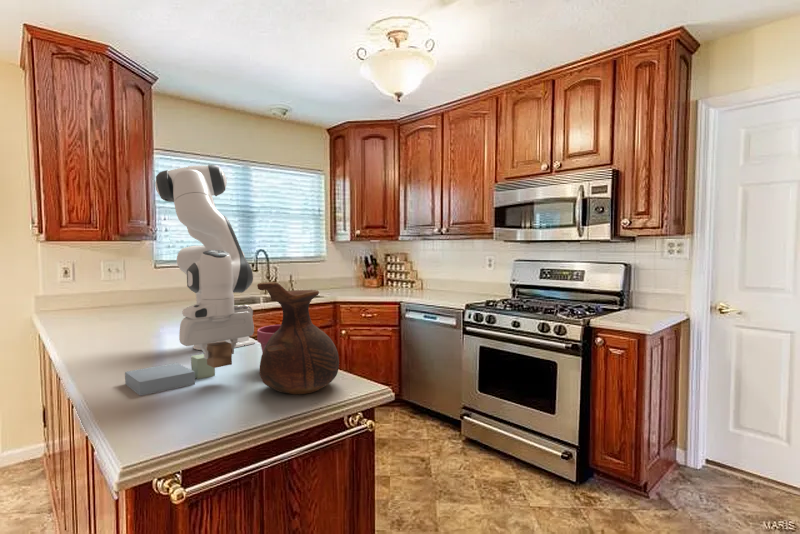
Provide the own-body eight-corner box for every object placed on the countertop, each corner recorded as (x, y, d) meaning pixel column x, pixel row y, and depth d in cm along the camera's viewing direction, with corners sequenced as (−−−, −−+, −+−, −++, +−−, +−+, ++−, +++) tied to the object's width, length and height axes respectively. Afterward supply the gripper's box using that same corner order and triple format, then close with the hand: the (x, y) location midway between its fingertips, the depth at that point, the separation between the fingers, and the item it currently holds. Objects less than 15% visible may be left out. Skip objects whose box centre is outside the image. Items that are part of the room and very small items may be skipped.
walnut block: (224, 361, 134) (223, 340, 133) (231, 364, 130) (231, 343, 130) (207, 364, 130) (206, 343, 130) (214, 367, 127) (213, 346, 126)
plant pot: (287, 376, 137) (287, 333, 136) (248, 371, 142) (247, 330, 141) (312, 364, 151) (311, 325, 150) (275, 360, 155) (274, 323, 154)
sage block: (208, 372, 142) (207, 353, 141) (214, 375, 138) (214, 356, 138) (191, 375, 138) (191, 356, 138) (198, 379, 134) (197, 359, 134)
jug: (255, 381, 132) (253, 277, 130) (329, 373, 139) (328, 275, 138) (260, 406, 111) (258, 283, 110) (347, 395, 119) (346, 280, 118)
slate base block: (177, 375, 140) (177, 362, 139) (195, 385, 130) (194, 371, 129) (125, 385, 130) (125, 371, 130) (140, 397, 120) (139, 382, 120)
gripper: (247, 303, 139) (248, 348, 140) (176, 310, 124) (178, 360, 125) (257, 305, 134) (258, 351, 135) (184, 313, 120) (186, 365, 121)
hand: (219, 356), depth 130 cm, fingers closed on walnut block, 5 cm apart
